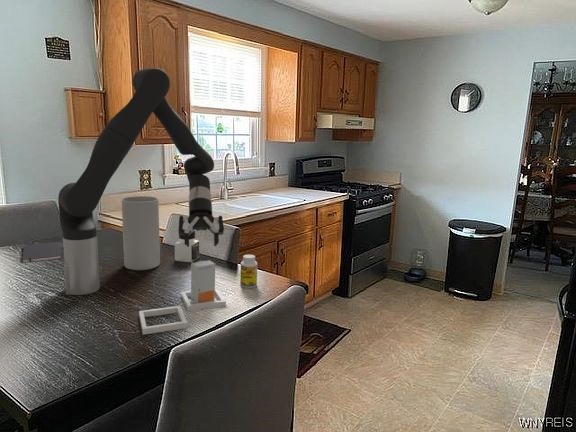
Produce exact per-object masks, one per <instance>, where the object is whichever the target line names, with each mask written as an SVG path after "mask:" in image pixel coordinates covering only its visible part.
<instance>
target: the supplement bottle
mask: <svg viewBox="0 0 576 432" xmlns="http://www.w3.org/2000/svg"><path fill="white" fill-rule="evenodd" d="M239 275H240V276H239V277H240V279H239V284H240V285H239V286H240V287H243V288H244V289H245V288H246V289H251V288H252V287H253V288H255V287H256V286H257V285H258V262H257V261H256V255H254V254H244V255H243V256H242V261H241V262H240V274H239Z"/></svg>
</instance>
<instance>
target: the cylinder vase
mask: <svg viewBox="0 0 576 432" xmlns="http://www.w3.org/2000/svg"><path fill="white" fill-rule="evenodd" d="M159 200H160V199H159V198H158V197H155V196H148V195H147V196H146V195H145V196H143V195H137V196H136V195H135V196H134V195H133V196H127V197H126V196H125V197H123V198H121V215H122V217H121V220H122V239H123V240H122V242H123V243H122V244H123V264H124V267H125V268H126V269H128V270H131V271H148V270H153V269H155V268H157V267H158V266H160V264H161V249H160V248H161V245H160V212H159V211H160V207H159V206H160V205H159Z"/></svg>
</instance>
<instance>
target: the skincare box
mask: <svg viewBox="0 0 576 432" xmlns="http://www.w3.org/2000/svg"><path fill="white" fill-rule="evenodd" d="M190 264H191V265H190V291H191V297H190V300H191V301H190V302H192V304H197V303H205V302H213V301H216V300H215V297H216V296H215V288H216V263H215V262H213V261H211V260H210V259H209V260H202V261H196V262H190Z"/></svg>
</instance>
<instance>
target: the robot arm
mask: <svg viewBox="0 0 576 432" xmlns="http://www.w3.org/2000/svg"><path fill="white" fill-rule="evenodd" d="M170 81H171V80H170V78H169V76H168V74H167V72H165V70H163V69H161V68H158V67H157V68H156V67H148V68H142V69H140V70H139V69H138V70H137V71H136V72H135V73H134V75H133V77H132V86H133V89H134V91H135V92H134V93H133V95H132V97H131V98H130V100H129V101H128V102H127V103H126V105H124V106H123V108H121V109H120V110H119V111H118V112H117V113H116V114H115V115H114V116H113V117H112V118H111V119H110V120H109V121H108V122H107V124H106V125H105V127H104V128H103V130H102V131H101V133H100V135H98V137H97V138H96V141H95V143H94V146H93V149H92V151H91V155H90V157H89V161H88V164H87V166H86V167H85V170H84V171H83V172H82V174H81V175H80V177H79V178H78V179H77V181H75V182H70V183H67V184H66V185H64V186H63V187H62V188H61V189H60V191H59V193H58V198H57V204H58V212H59V213H58V214H59V225H60V228H61V232H62V242H63V243H62V244H63V245H62V246H63V256H64V257H63V258H64V264H63V267H64V268H63V270H64V272H63V273H64V284H65V295H66V296H69V295H72V296H83V295H84V296H85V295H90V294H93V293H96V292H97V291H99V289H100V284H101V283H100V271H99V268H100V267H99V253H98V232H97V226H96V224H95V221H94V214H93V213H94V211H95V209H96V208H97V207H98V204H99V202H100V200H101V198H102V196H103V194H104V192H105V190H106V188H107V185H108V184H109V182H110V181H111V179H112V177H113V175H114V174H115V173H116V172H117V170H118V168H119V167H120V165H121V164H122V162H123V161H124V159H125V157H127V155H128V154H129V152H130V151H131V149H132V147H133V145H134V144H135V142H136V140H137V138H138V137H139V135H140V133H141V132H142V130H143V129H144V127H145V125H146V123H147V122H148V120H149V118H150V117H151V115H152V114H154V115H155V117H156V118H157V120H158V121H159V123H160V124H161V125H162V127H163V128H164V130H165V131H166V133H167V135H168V136H169V137H170V139H171V140H172V143H173V144H174V146H175V148H176V150H177V151H178V152H179V153H180V155H183V156H187V155H188V156H190V155H191V157H189V158H187V159H186V160H185V161H184V163H183V169H184V172H185V175H186V177H187V180H188V184H189V186H188V187H189V193H188V194H189V195H188V217H184V216H183V215H180V216H179V219H178V220H179V221H178V236H179V235H180V236H181V235H183V236H184V241H185V245H187V247H189V235H190V234H191V233H192V232H193V231H195V232H196V231H209V233H211V234H212V235H213V247H217V246H218V245H219V243H220V242H219V241H220V239H219V237H220V235H221V236H222V235H224V231H225V226H224V221H223V216H222V215H219V216H218V217H217V216H216V217H215V216H213V205H212V204H213V203H212V202H213V201H212V195H211V182H210V178H209V176H207V175H206V174H207V173H211V172H212V171H213V170H214V168H215V161H214V159H213V157H212V156H211V155H210V153H208V151H206V149H204V147H202V146H201V144H200V143H198V141H197V139H196V138H195V137H194V135H193V134H194V133H192V131H191V129H190V128H189V126H188V125H187V124H186V122H185V121H184V120H183V119H182V118H181V117H180V116H179V114H178V113H177V112H176V111H175V110H174V109H173V107H172V106H171V105H170V103H169V102H168V99H167V97H166V96H167V95H168V93H169V90H170V87H171V82H170ZM214 222H215V224H217V225H218V228H217V227H216V226H215V224H214ZM186 223H188V224H189V225H188V226H187V227H186V228H185V229H186V230H183V229H184V225H186Z"/></svg>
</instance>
